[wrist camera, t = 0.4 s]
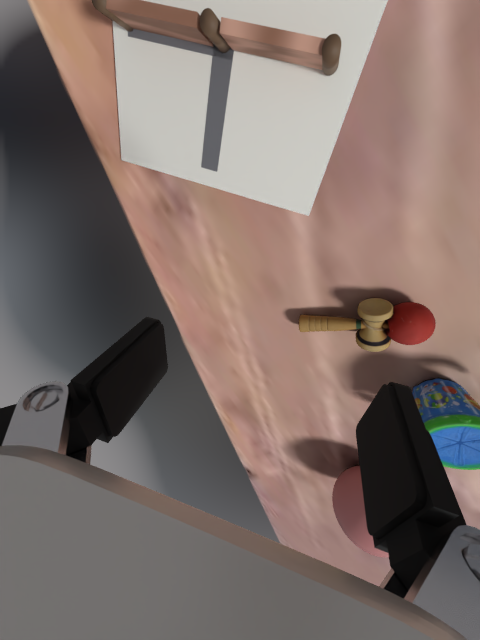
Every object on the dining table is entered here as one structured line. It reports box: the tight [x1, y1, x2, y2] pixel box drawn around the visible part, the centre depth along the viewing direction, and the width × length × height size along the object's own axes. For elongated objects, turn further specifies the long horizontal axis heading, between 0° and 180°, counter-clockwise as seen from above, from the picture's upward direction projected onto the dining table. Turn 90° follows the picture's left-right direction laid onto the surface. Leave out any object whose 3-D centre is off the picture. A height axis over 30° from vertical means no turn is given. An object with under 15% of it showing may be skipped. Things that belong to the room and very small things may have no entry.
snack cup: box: [412, 378, 480, 470], centre depth 37 cm, size 16×10×10 cm
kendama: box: [299, 298, 435, 352], centre depth 36 cm, size 8×6×18 cm
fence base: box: [92, 0, 230, 53], centre depth 25 cm, size 2×13×5 cm, turn 78°
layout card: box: [113, 0, 388, 216], centre depth 27 cm, size 23×29×1 cm
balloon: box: [332, 466, 389, 557], centre depth 51 cm, size 15×20×15 cm
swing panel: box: [220, 17, 341, 76], centre depth 23 cm, size 11×2×4 cm, turn 78°
